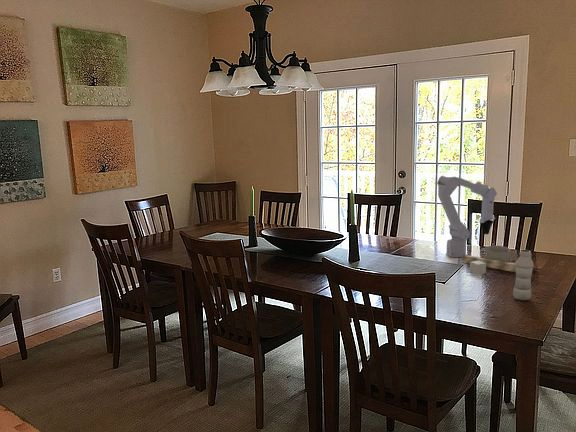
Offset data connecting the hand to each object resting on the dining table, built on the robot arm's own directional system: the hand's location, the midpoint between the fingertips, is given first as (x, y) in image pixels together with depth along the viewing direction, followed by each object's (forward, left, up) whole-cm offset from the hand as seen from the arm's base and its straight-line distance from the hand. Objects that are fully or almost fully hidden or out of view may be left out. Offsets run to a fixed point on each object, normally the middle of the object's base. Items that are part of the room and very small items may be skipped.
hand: (486, 234), depth 257 cm
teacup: (-4, -20, -11) cm, 23 cm away
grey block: (-18, -34, -10) cm, 40 cm away
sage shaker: (+8, -28, -10) cm, 31 cm away
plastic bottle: (-15, -70, -11) cm, 72 cm away
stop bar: (-9, -25, -10) cm, 28 cm away
